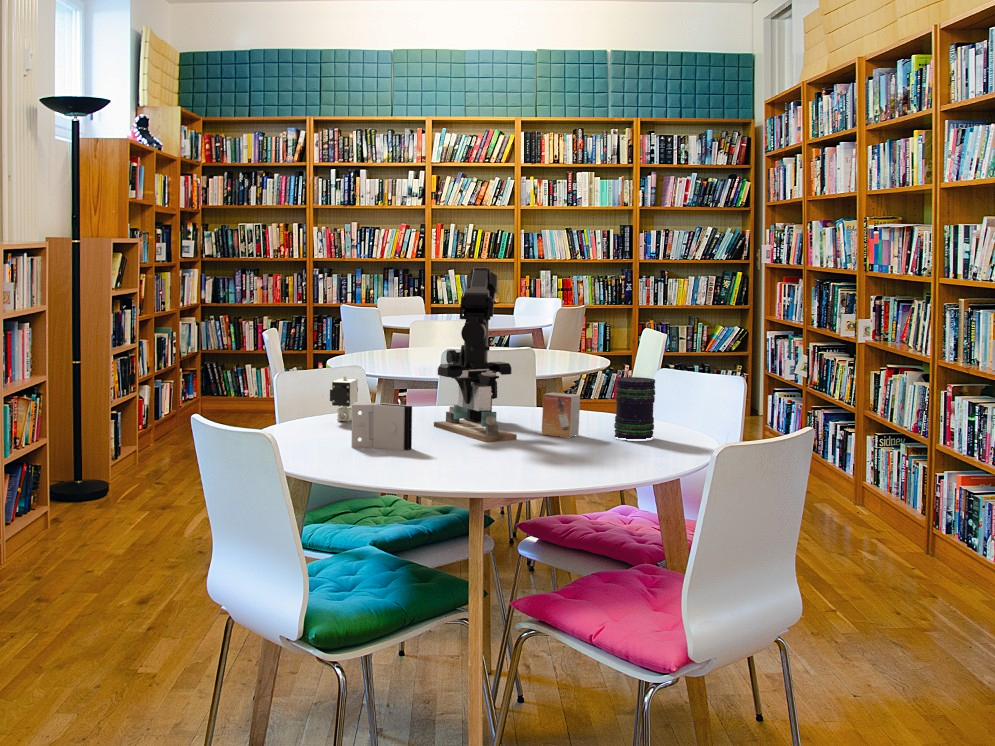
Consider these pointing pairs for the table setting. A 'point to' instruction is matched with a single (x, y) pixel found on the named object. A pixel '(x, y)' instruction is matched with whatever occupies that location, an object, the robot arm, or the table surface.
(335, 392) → the pneumatic valve
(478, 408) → the block
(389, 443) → the hinge
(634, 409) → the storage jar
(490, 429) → the shaft coupling stand
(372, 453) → the table surface
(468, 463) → the table surface
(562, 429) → the small box
